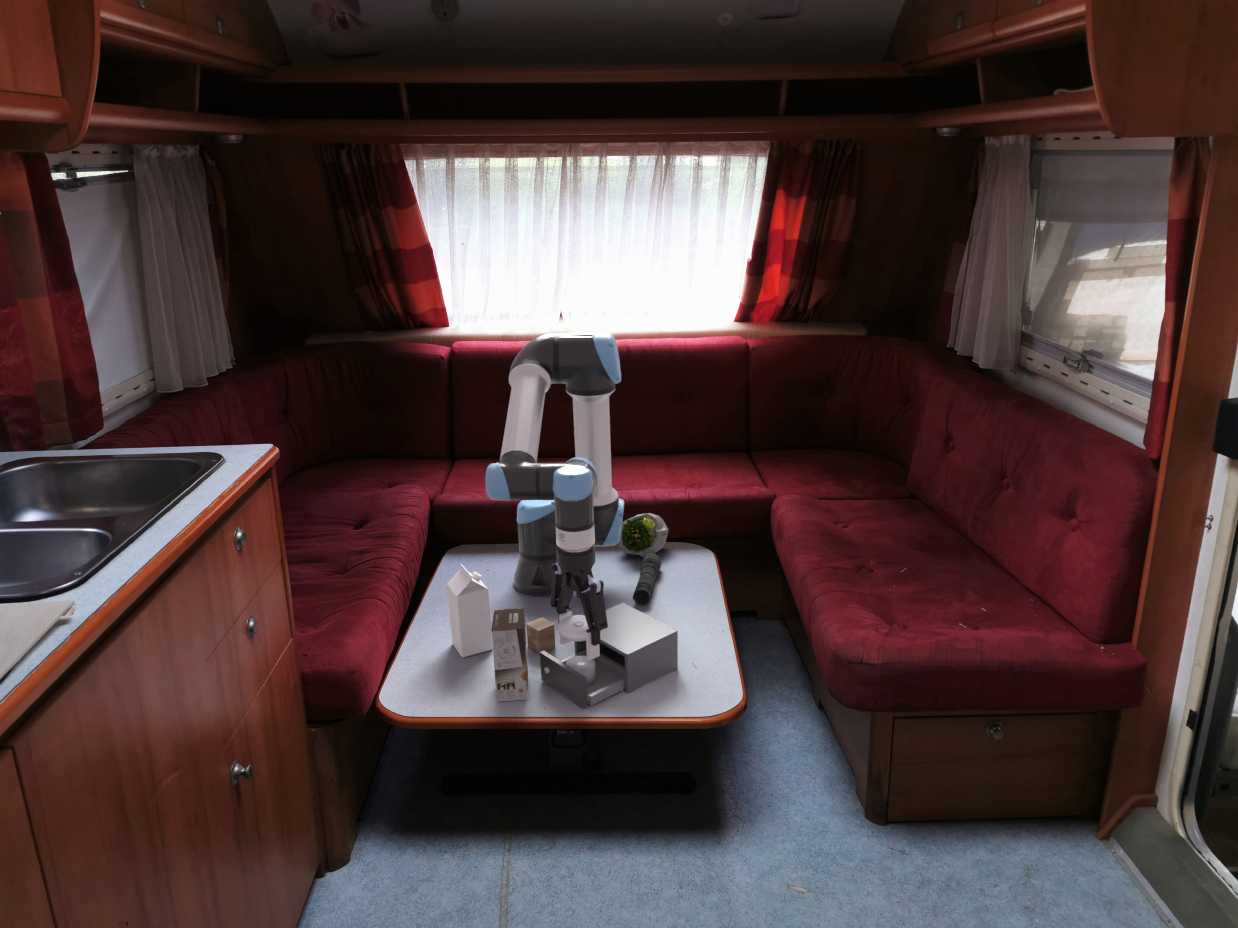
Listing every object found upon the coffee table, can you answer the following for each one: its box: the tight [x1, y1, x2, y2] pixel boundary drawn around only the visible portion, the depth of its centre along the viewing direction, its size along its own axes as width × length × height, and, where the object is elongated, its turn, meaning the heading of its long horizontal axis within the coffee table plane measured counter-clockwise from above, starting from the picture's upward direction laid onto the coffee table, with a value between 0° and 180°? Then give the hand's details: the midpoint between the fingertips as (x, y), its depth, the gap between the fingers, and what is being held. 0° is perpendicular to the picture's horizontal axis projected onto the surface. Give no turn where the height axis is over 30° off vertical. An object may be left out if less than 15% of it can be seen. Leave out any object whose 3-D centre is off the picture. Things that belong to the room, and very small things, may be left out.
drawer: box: [539, 649, 625, 709], centre depth 185 cm, size 15×14×7 cm
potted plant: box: [618, 512, 669, 559], centre depth 244 cm, size 12×13×15 cm
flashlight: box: [632, 553, 662, 606], centre depth 227 cm, size 5×21×5 cm, turn 171°
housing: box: [573, 602, 679, 695], centre depth 192 cm, size 17×14×9 cm
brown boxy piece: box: [525, 617, 557, 656], centre depth 199 cm, size 4×4×6 cm
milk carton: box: [446, 563, 493, 658], centre depth 198 cm, size 7×7×19 cm
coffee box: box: [491, 607, 529, 702], centre depth 183 cm, size 9×6×16 cm
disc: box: [558, 614, 594, 642], centre depth 181 cm, size 8×8×2 cm
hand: (579, 649), depth 182 cm, fingers closed on disc, 8 cm apart
